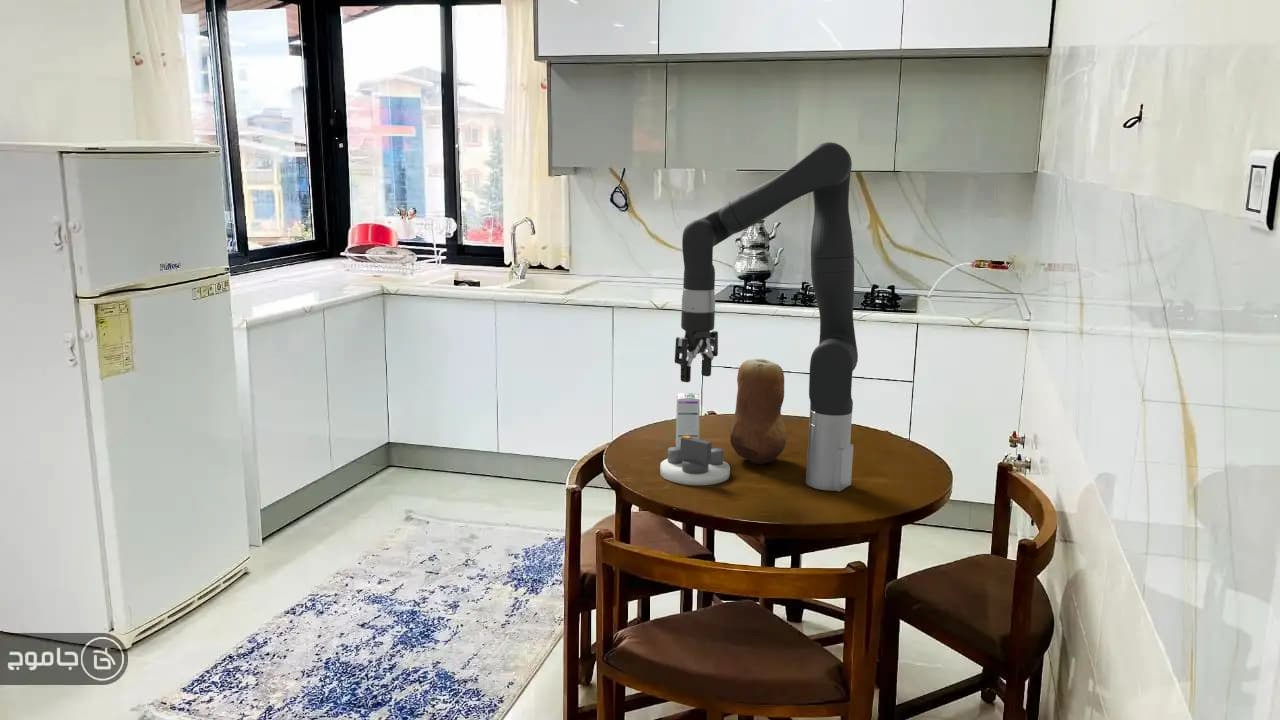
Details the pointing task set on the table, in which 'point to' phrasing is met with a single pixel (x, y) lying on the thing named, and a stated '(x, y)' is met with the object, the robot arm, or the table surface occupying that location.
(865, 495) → the table surface
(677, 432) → the syrup box
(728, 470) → the plate
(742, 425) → the butternut squash
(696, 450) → the wing knob
